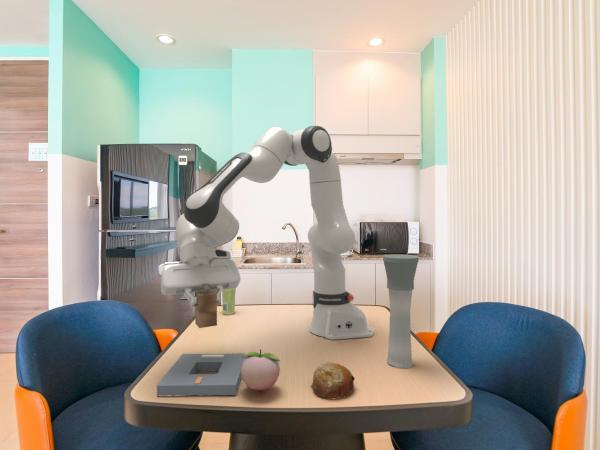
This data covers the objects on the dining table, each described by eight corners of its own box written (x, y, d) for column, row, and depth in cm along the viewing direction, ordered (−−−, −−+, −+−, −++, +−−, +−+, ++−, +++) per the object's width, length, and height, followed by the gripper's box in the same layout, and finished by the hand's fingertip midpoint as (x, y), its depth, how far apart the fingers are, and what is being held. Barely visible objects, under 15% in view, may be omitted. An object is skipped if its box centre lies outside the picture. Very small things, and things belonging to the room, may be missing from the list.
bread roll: (316, 393, 88) (302, 365, 87) (352, 374, 88) (339, 347, 88) (322, 416, 78) (307, 385, 77) (363, 394, 79) (348, 364, 78)
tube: (232, 310, 149) (232, 265, 148) (238, 313, 145) (238, 267, 145) (220, 313, 146) (220, 267, 145) (226, 316, 142) (225, 268, 141)
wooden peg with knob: (212, 320, 91) (212, 281, 91) (216, 325, 87) (216, 284, 87) (195, 323, 89) (194, 283, 88) (199, 328, 85) (198, 286, 85)
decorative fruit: (237, 401, 77) (237, 357, 77) (243, 383, 85) (243, 343, 85) (279, 401, 77) (279, 357, 77) (281, 383, 85) (281, 343, 85)
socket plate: (246, 362, 97) (246, 352, 97) (235, 395, 79) (235, 383, 79) (182, 362, 97) (182, 352, 97) (157, 396, 79) (156, 384, 79)
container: (411, 355, 102) (412, 254, 101) (422, 370, 92) (423, 258, 91) (378, 355, 102) (379, 254, 101) (386, 370, 92) (387, 258, 91)
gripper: (157, 255, 88) (163, 302, 80) (235, 251, 98) (247, 292, 90) (156, 270, 92) (161, 316, 84) (230, 265, 102) (241, 305, 94)
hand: (206, 303), depth 87 cm, fingers closed on wooden peg with knob, 4 cm apart
